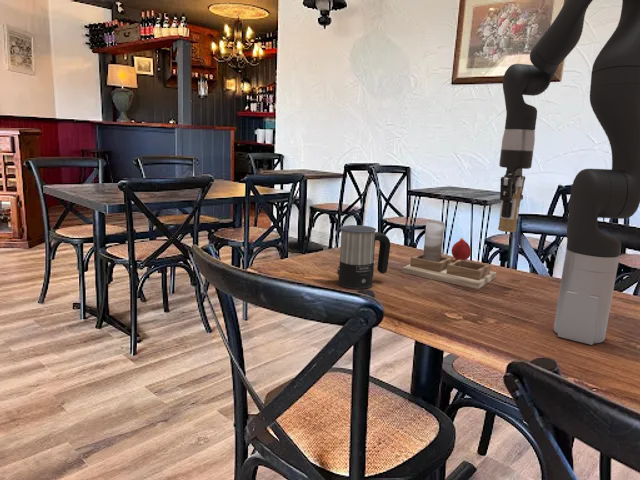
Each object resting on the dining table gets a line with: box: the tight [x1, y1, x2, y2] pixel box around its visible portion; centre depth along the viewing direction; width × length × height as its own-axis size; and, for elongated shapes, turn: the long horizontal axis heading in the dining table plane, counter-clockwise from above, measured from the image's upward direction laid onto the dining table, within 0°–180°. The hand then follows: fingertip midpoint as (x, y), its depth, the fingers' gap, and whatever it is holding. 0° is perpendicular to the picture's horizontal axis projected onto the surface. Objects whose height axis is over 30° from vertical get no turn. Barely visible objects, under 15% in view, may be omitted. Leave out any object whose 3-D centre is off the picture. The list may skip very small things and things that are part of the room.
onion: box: [451, 237, 472, 261], centre depth 153 cm, size 6×6×8 cm
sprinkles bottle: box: [497, 179, 523, 233], centre depth 124 cm, size 5×5×13 cm
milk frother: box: [336, 224, 391, 290], centre depth 128 cm, size 14×16×15 cm
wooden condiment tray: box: [401, 220, 497, 290], centre depth 137 cm, size 15×22×14 cm
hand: (508, 216), depth 125 cm, fingers closed on sprinkles bottle, 4 cm apart
